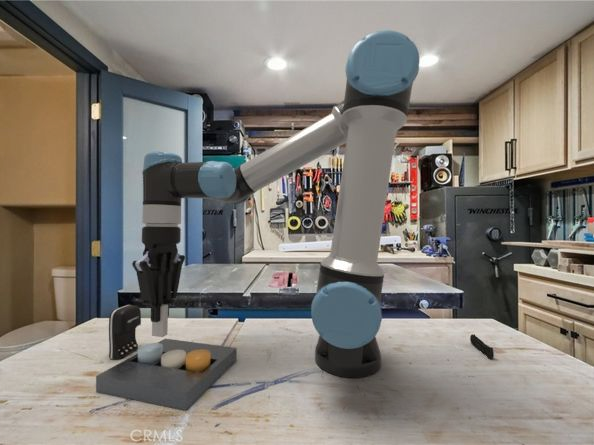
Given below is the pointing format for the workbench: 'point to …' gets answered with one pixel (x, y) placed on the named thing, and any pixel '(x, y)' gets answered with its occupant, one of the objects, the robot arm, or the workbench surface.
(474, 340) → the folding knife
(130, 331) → the battery charger
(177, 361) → the ivory button
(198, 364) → the orange button
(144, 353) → the pale blue button
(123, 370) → the panel
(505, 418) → the workbench surface
